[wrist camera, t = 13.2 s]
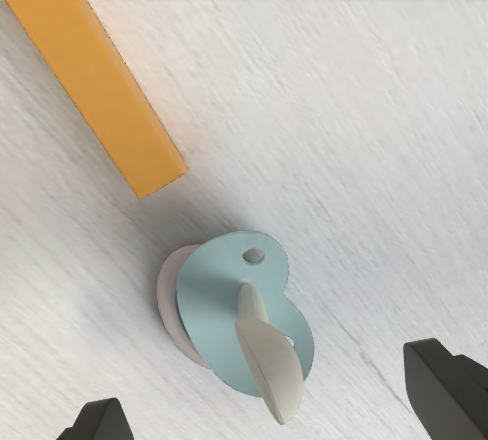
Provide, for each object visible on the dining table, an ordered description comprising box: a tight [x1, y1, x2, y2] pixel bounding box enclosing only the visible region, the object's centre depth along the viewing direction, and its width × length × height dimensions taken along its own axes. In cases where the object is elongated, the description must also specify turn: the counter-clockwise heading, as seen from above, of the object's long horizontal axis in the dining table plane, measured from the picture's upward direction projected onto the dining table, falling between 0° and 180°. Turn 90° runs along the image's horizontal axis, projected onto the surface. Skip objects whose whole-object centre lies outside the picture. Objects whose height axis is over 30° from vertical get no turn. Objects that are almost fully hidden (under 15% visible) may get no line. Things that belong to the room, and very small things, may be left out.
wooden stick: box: [5, 0, 188, 199], centre depth 10 cm, size 12×2×2 cm, turn 29°
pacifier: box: [156, 230, 314, 425], centre depth 11 cm, size 7×6×6 cm
